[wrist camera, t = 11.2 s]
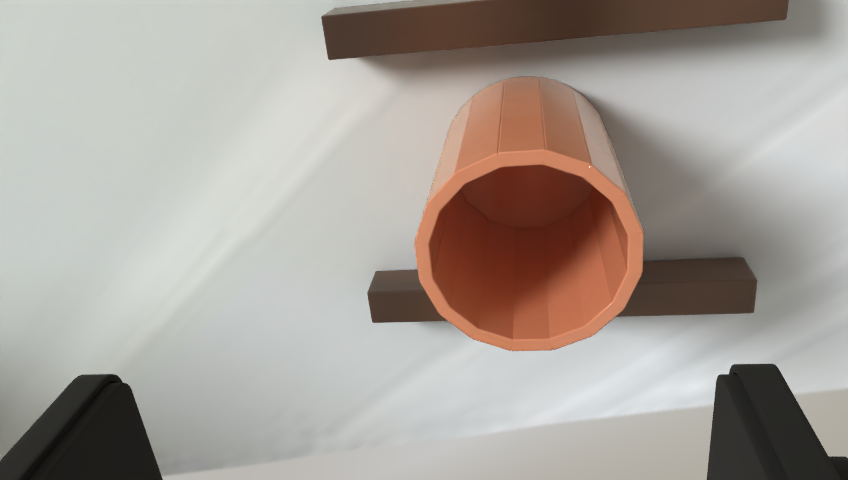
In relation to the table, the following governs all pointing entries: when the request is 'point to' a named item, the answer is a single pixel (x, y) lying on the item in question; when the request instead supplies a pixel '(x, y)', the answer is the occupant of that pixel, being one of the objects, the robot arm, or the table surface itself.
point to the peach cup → (529, 220)
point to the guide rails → (533, 22)
